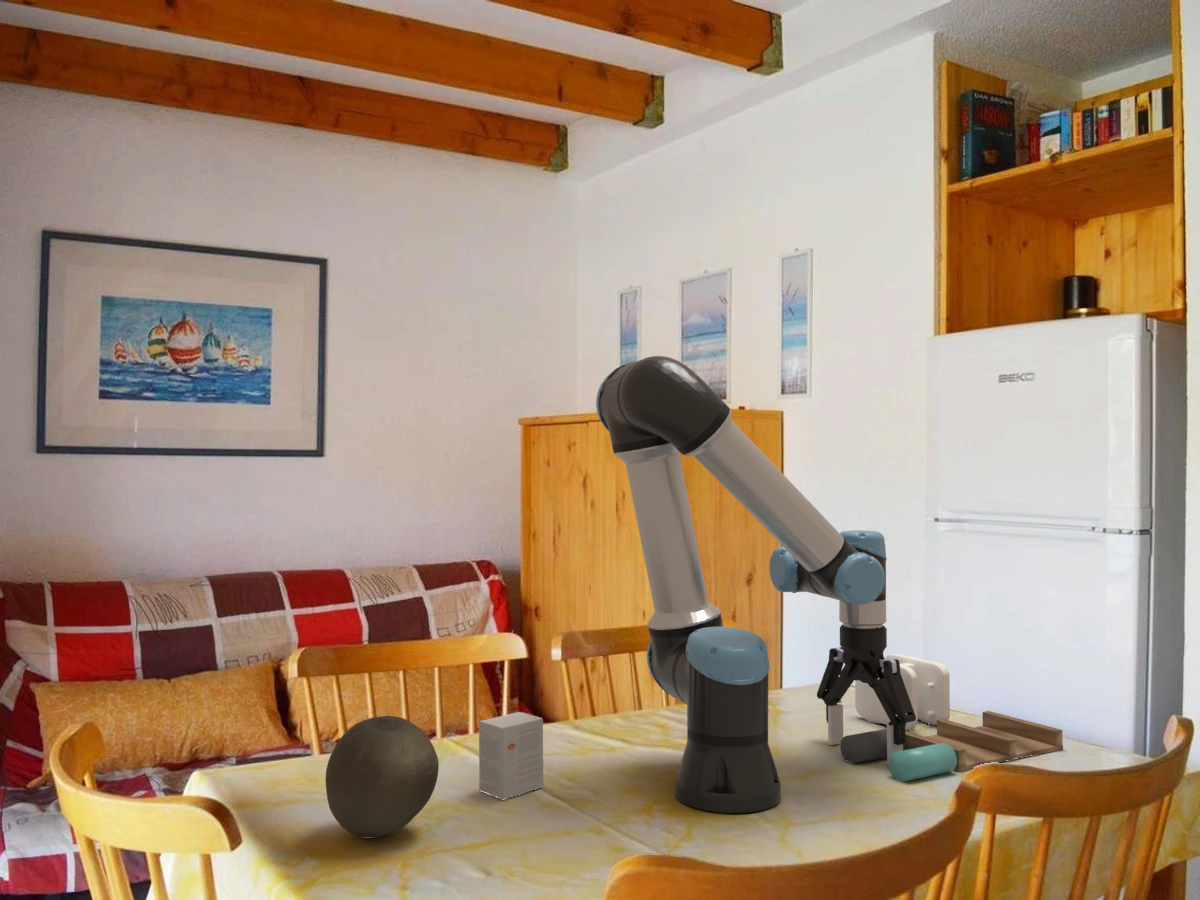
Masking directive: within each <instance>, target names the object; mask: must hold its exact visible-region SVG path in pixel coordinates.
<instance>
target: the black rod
mask: <svg viewBox="0 0 1200 900" xmlns="http://www.w3.org/2000/svg"><path fill="white" fill-rule="evenodd" d="M839 746H840V752H841V756H842V757H843V759H844V761H846V760H847V761H849V762H852V763H855V764H859V763H860V762H861V763H865V761H866V762H870V760H871V761H875V759H876V760H879V759H880V758H881V759H885V757H886V758H887V728H883V729H877V730H873V731H865V732H860V733H854V734H848V735H845V736H843V738H842V740H841V744H839ZM904 749H905V744H903V751H904ZM881 759H880V760H881ZM847 761H846V762H847ZM849 762H848V763H849ZM852 763H851V764H852Z"/></svg>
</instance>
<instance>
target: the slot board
mask: <svg viewBox="0 0 1200 900" xmlns="http://www.w3.org/2000/svg"><path fill="white" fill-rule="evenodd" d="M1063 741H1064V740H1063V729H1061V728H1056V727H1052V726H1048V725H1045V724H1041V723H1036V722H1033V721H1030V720H1025V719H1021V718H1017V717H1014V716H1009V715H1006V714H1002V713H998V712H994V711H990V710H987V711H982V725H981V726H976V727H972V726H970V725H966V724H962V723H958V722H955V721H952V720H945V719H940V720H937V725H936V734H934V735H928V736H923V735H920V734H917V733H914V732H911V731H908V730H907V731H905V749H904V750H909V749H914V748H919V747H924V746H929V745H934V744H939V743H946V744H948V745H950V746H951V747H952V749H953V750H954V752H955V754H956V758H957V765H956V767H955V769H954V770H953V771H952V772H956V773H961V772H962V773H963V772H966V771H970V769H971V768H973V767H975V766H977V765H980V764H984V763H991V762H1004V763H1007V762H1009V761H1006V760H1013V759H1015V758H1021V757H1026V756H1030V755H1036V754H1041V755H1044V754H1043V753H1045V754H1049V752H1050V753H1053V752H1058V751H1063V750H1064V744H1063ZM1036 756H1037V755H1036ZM1013 761H1014V760H1013ZM971 770H972V769H971Z"/></svg>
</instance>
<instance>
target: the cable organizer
mask: <svg viewBox="0 0 1200 900" xmlns="http://www.w3.org/2000/svg"><path fill="white" fill-rule="evenodd" d="M884 659H885V660H893V659H898V660H899V663H900V673H901V676H902V679H903V682H904V685H905V688H906V690H907V693H908V696H909V699H910V702H911V704H912V707H913V710H914V713H915V716H916V720H915V721H912V722H907V723H906V725H905V731H908V730H913V729H915V728H916V727H917V725H918V720H920V721H921V722H922V723H924V722H926V723H925V724H927V723H929V724H928V725H930V724H932V725H931V726H934V725H936V726H937V720H940V719H945V720H949V719H950V716H951V715H950V711H951V709H950V708H951V705H950V704H951V703H950V699H951V698H950V696H951V695H950V693H951V692H950V691H951V690H950V687H951V686H950V682H951V681H950V678H951V677H950V675H951V674H950V671H949V669H948V667H947V666H945V665H944V664H943V663H941V662H938V661H937V662H936V661H932V660H929V659H923V658H918V657H914V656H910V655H905V654H901V653H900V654H899V653H892V654H891V653H890V654H887V655H885V657H884ZM878 679H879V677H878ZM854 681H855V680H854ZM854 683H855V685H854V686H855V687H854V690H855V691H854V692H855V694H854V695H855V696H854V697H855V699H854V700H855V710H856V712H857V714H858V715H859V716H860V717H862V718H863V719H865V721H866V720H867V722H869V721H870V722H869V723H872V722H874V723H873V724H876V723H878V725H880V724H883V725H886V726H887V723H889V722H890V719H889V717H888V716H887V714H886V712H885V710H884V708H883V706H882V704H881V703H880V701H879V699H878V697H877V695H876V693H875V691H874V690H873V688H871V687H870V686H869V685H868V683H863V682H861V681H860V680H857V681H855V682H854ZM906 714H907V713H906ZM896 716H897V715H896ZM949 721H950V720H949Z"/></svg>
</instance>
